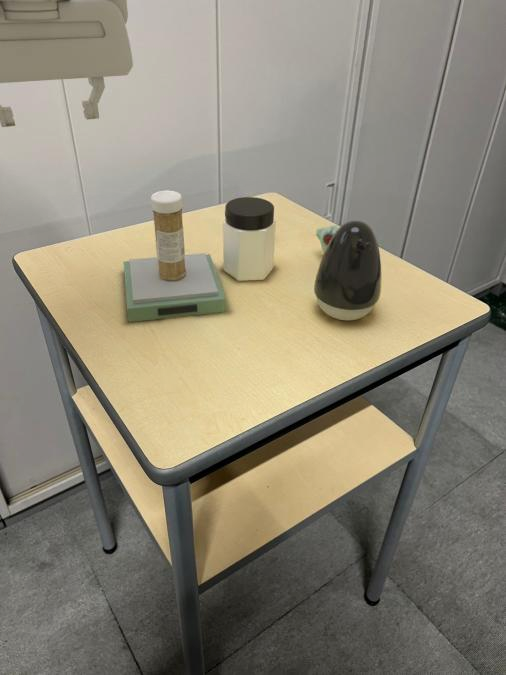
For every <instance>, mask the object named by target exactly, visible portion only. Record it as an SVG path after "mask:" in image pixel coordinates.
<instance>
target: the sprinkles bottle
mask: <svg viewBox="0 0 506 675" xmlns="http://www.w3.org/2000/svg"><path fill="white" fill-rule="evenodd" d="M150 205H151V210H152V213H153V224H154V225H153V226H154V233H155V234H154V236H155V250H156V251H155V252H156V257H157V258H158V267H159V271H158V274H159V276H160V277H161V278H162V279H165V280H170V281H174V280H178V279H181V278H183V277H184V276H185V275H186V269H185V255H186V250H185V234H184V224H183V214H182V213H183V212H182V211H183V208H184V207H183V196H182V194H181V193H180V192H178V191H174V190H167V189H166V190H159V191H156V192H154V193H153V194H152V195H151V196H150Z"/></svg>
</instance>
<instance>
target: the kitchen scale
mask: <svg viewBox="0 0 506 675" xmlns="http://www.w3.org/2000/svg"><path fill="white" fill-rule="evenodd" d="M185 269H186V275H185V276H184V277H183V278H181V279H178V280H174V281H170V280H165V279H162V278H161V277H160V276H159V274H158V271H159V267H158V258H157V256H155V257H145V258H132V259H129V260H126V261H123V272H124V273H123V274H124V286H125V300H126V301H125V302H126V303H125V304H126V312H127V319H128V320H127V321H128V323H135V322H142V321H143V322H144V321H153V320H163V319H173V318H180V317H181V318H182V317H190V316H199V315H209V314H219V313H226V311H227V310H226V309H227V308H226V306H227V302H226V296H225V293H224V289H223V288H222V284H221V282H220V279H219V275H218V274H217V270H216V267H215V264H214V261H213V259H212V256H211V254H209V253H205V252H204V253H192V254H191V253H190V254H185Z"/></svg>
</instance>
